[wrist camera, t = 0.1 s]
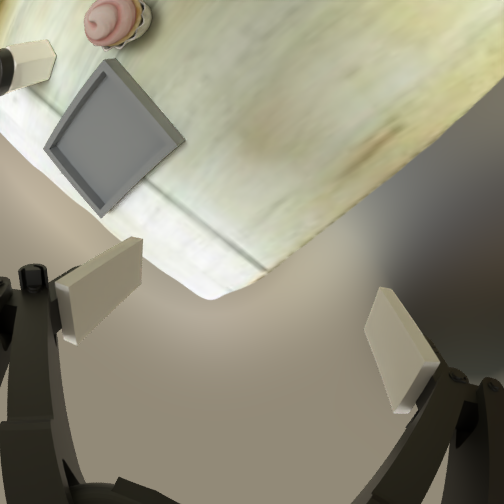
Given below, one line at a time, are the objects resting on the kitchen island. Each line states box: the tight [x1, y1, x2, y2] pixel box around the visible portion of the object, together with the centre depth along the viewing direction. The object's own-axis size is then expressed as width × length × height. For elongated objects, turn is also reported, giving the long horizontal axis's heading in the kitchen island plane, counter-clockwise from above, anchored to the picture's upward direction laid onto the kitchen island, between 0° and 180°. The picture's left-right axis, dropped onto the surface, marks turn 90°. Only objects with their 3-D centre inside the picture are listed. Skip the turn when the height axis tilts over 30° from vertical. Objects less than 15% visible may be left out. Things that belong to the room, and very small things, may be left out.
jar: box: [0, 40, 56, 96], centre depth 28 cm, size 9×8×12 cm
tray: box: [43, 58, 185, 218], centre depth 39 cm, size 20×17×3 cm
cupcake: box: [84, 0, 152, 52], centre depth 25 cm, size 9×9×10 cm
